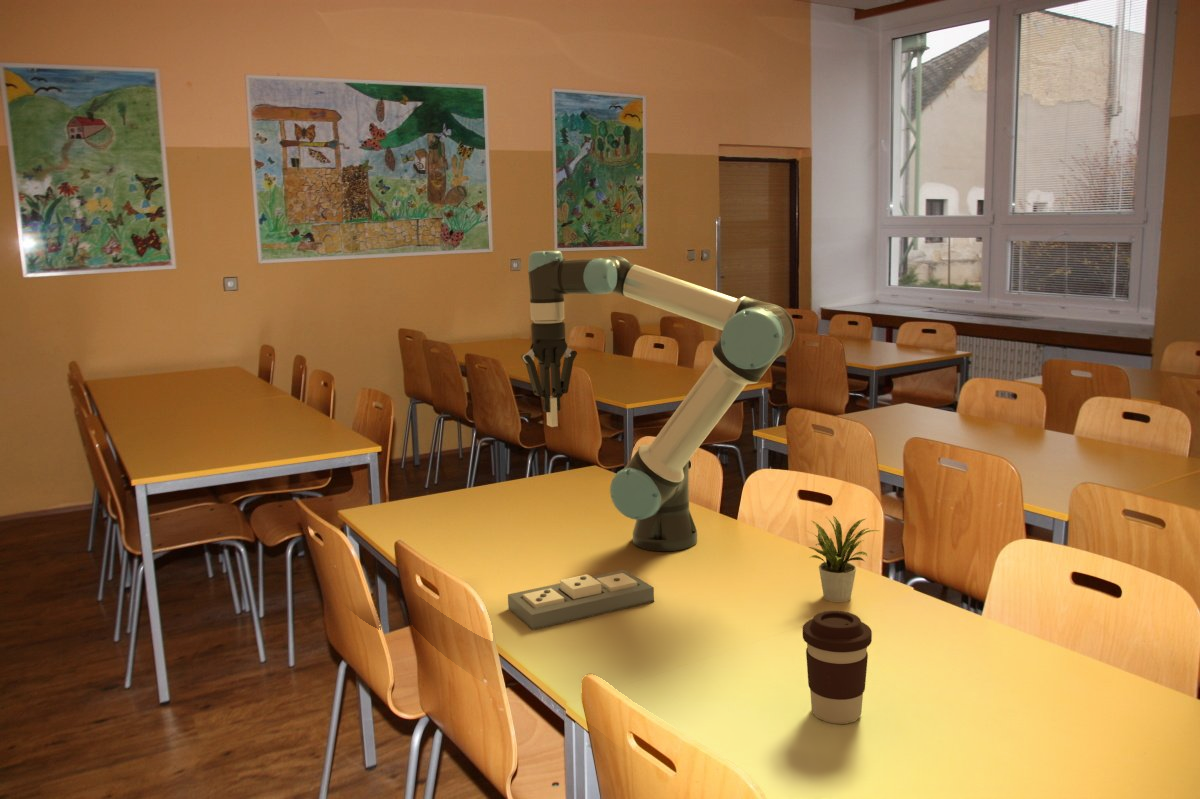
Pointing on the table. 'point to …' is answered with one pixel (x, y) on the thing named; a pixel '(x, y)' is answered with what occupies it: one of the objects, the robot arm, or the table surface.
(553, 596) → the key three
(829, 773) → the table surface
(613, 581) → the key one
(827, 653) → the coffee cup
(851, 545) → the house plant
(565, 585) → the key two
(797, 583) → the table surface
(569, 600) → the keypad
